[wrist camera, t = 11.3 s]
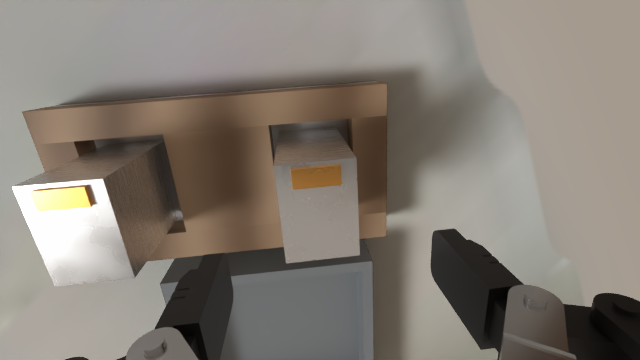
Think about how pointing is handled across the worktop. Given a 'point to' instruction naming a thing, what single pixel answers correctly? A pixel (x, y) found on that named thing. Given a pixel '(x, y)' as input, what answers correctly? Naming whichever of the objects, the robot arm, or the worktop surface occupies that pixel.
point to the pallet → (228, 154)
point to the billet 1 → (101, 211)
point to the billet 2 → (317, 195)
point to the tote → (293, 306)
